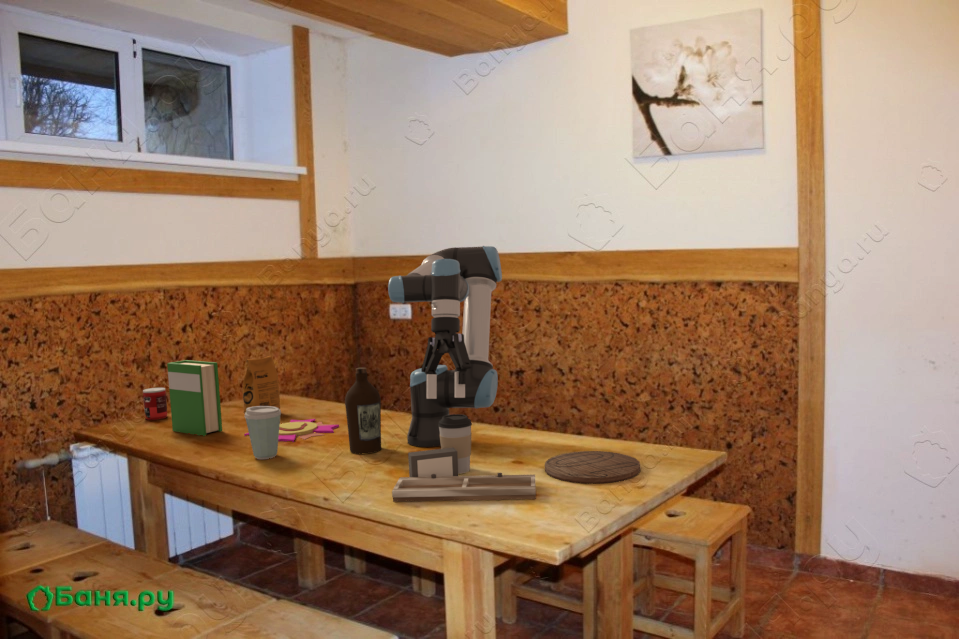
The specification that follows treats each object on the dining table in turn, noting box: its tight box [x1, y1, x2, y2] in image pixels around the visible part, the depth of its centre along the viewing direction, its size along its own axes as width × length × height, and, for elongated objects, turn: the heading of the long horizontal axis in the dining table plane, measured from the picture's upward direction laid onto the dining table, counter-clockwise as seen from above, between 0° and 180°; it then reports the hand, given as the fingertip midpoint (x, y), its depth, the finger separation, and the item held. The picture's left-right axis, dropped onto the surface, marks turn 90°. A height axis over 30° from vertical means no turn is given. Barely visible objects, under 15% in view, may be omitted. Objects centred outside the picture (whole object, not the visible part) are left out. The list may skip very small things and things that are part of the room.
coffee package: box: [241, 355, 281, 415], centre depth 290 cm, size 10×12×22 cm
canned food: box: [142, 387, 168, 421], centre depth 294 cm, size 8×8×11 cm
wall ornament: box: [244, 418, 340, 443], centre depth 262 cm, size 30×2×30 cm
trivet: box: [544, 450, 642, 485], centre depth 204 cm, size 25×25×2 cm
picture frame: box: [407, 447, 459, 477], centre depth 198 cm, size 4×12×8 cm, turn 106°
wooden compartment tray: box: [391, 472, 537, 503], centre depth 188 cm, size 11×34×4 cm, turn 86°
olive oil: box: [344, 366, 382, 455], centre depth 232 cm, size 11×11×25 cm
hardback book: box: [166, 359, 223, 437], centre depth 268 cm, size 18×7×24 cm, turn 56°
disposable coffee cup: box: [244, 406, 282, 460], centre depth 230 cm, size 11×11×15 cm
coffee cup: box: [438, 413, 473, 475], centre depth 208 cm, size 9×9×15 cm
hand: (445, 398), depth 202 cm, fingers open, 13 cm apart
